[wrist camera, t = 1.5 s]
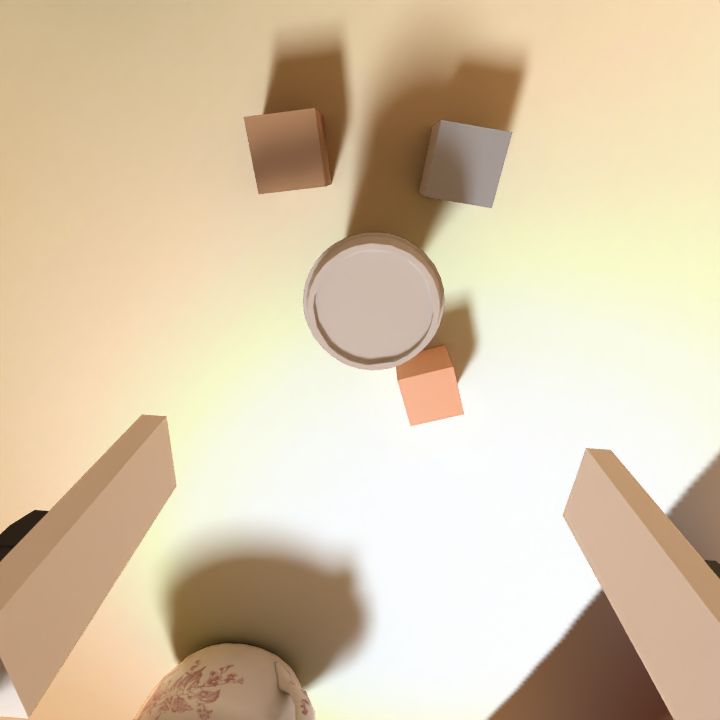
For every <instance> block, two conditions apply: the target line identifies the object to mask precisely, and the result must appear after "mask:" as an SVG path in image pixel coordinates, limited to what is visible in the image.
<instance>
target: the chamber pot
mask: <svg viewBox="0 0 720 720" xmlns="http://www.w3.org/2000/svg"><path fill="white" fill-rule="evenodd" d="M134 720H315V710H314V708H313V706H312V704H311V701H310V699H309V697H308V695H307V693H306V691H304V690H303V689H302V686H301V684H300V681H299V680H298V678H297V677H296V675H295V673H294V672H293V670H292V669H291V667H290V666H289V665H288V664H287V663H286V662H285V661H283V660H282V659H281V658H280V657H278V656H277V655H275V654H273V653H271V652H268V651H266V650H264V649H262V648H258V647H254V646H250V645H246V644H232V643H223V644H218V645H212V646H207V647H205V648H203V649H201V650H199V651H197V652H195V653H193V654H191V655H189V656H188V657H187V658H185V659H184V660H183V661H182V662H181V663H180V664H179V665H178V666H176V667H175V668H174V669H173V670H172V671H171V672H170V673H168V674H167V675H166V676H165V677H164V678H163V679H162V680H161V681H160V682H159V683H158V684H157V685H156V686H155V687H154V689H153V690H152V691H151V693H150V694H149V696H148V698H147V699H146V701H145V702H144V704H143V705H142V707H141V709H140V710H139V712H138V713H137V715H136V717H135V718H134Z"/></svg>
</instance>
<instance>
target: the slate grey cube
mask: <svg viewBox="0 0 720 720" xmlns="http://www.w3.org/2000/svg"><path fill="white" fill-rule="evenodd" d="M511 135H512V132H509V131H503V130H497V129H491V128H486V127H480V126H474V125H469V124H463V123H457V122H451V121H446V120H440V121H439V122H437V123H436V124H435V125H433V126H432V130H431V135H430V140H429V145H428V150H427V155H426V160H425V165H424V170H423V175H422V180H421V186H420V191H419V194H421V195H423V196H425V197H429V198H435V199H441V200H447V201H453V202H459V203H465V204H471V205H477V206H483V207H489V208H492V205H493V202H494V198H495V194H496V190H497V187H498V183H499V179H500V176H501V172H502V168H503V165H504V161H505V157H506V153H507V150H508V146H509V142H510V139H511Z"/></svg>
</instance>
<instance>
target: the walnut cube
mask: <svg viewBox="0 0 720 720" xmlns="http://www.w3.org/2000/svg"><path fill="white" fill-rule="evenodd" d="M244 121H245V126H246V131H247V136H248V141H249V147H250V152H251V157H252V162H253V167H254V172H255V177H256V183H257V188H258V193H259V194H264V193H273V192H281V191H290V190H298V189H307V188H315V187H324V186H327V185H330V184H331V176H330V168H329V160H328V152H327V145H326V137H325V129H324V121H323V115H322V114H321V113H320V112H319V111H318V110H317V109H316V108H309V109H302V110H294V111H287V112H279V113H271V114H264V115H256V116H248V117H244Z"/></svg>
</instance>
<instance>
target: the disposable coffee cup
mask: <svg viewBox="0 0 720 720" xmlns="http://www.w3.org/2000/svg"><path fill="white" fill-rule="evenodd" d="M444 302H445V301H444V289H443V285H442V281H441V277H440V275H439V273H438V271H437V269H436V267H435V265H434V264H433V262H432V261H431V260H430V259H429V258H428V256H427V255H426V254H425V253H424V251H422V250H421V249H420V248H418V247H417V246H416V245H414V244H413V243H411V242H410V241H408V240H406V239H404V238H402V237H399V236H396V235H392V234H388V233H381V232H365V233H361V234H357V235H353V236H349V237H347V238H345V239H343V240H341V241H339V242H337V243H335V244H334V245H332V246H331V247H329V248H328V249H327V250H326V251H325V252H324V253H323V254H322V255H321V256H320V257H319V258H318V260H317V261H316V262H315V264H314V266H313V267H312V269H311V270H310V273H309V275H308V278H307V280H306V283H305V288H304V296H303V305H304V314H305V317H306V321H307V324H308V326H309V328H310V330H311V332H312V334H313V336H314V338H315V339H316V340H317V341H318V343H319V344H320V345H321V346H322V348H323V349H325V350H326V351H327V352H328V353H329V354H330V355H331V356H333V357H334V358H336V359H337V360H339V361H340V362H342V363H344V364H346V365H349V366H352V367H355V368H359V369H366V370H382V369H388V368H392V367H395V366H398V365H401V364H403V363H404V362H406V361H408V360H410V359H412V358H413V357H414V356H415V355H417V354H418V353H419V352H421V351H422V350H423V349H424V348H425V347H426V346H427V345H428V343H429V342H430V341H431V339H432V338H433V337H434V335H435V333H436V331H437V329H438V328H439V326H440V322H441V319H442V316H443V312H444Z"/></svg>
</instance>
